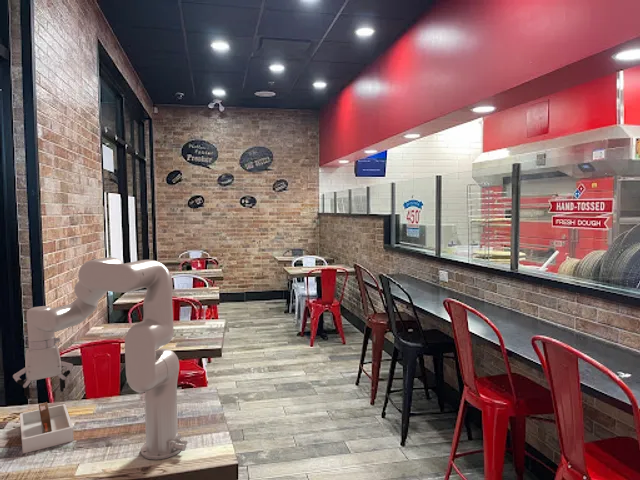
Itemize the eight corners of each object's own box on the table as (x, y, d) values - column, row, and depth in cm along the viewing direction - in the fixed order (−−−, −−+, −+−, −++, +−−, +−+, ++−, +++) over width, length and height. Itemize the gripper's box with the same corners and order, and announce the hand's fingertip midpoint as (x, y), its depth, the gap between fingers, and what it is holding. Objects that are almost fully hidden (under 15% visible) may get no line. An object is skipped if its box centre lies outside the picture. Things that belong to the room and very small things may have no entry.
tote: (20, 426, 162) (19, 413, 162) (65, 415, 170) (65, 403, 170) (22, 453, 144) (22, 439, 144) (73, 440, 152) (73, 427, 152)
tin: (53, 438, 152) (51, 413, 151) (41, 441, 150) (40, 416, 149) (49, 421, 164) (48, 398, 164) (39, 423, 162) (37, 400, 162)
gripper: (70, 337, 163) (73, 384, 164) (10, 346, 153) (14, 397, 154) (72, 341, 157) (75, 391, 158) (11, 351, 147) (14, 404, 148)
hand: (45, 394), depth 156 cm, fingers open, 9 cm apart
